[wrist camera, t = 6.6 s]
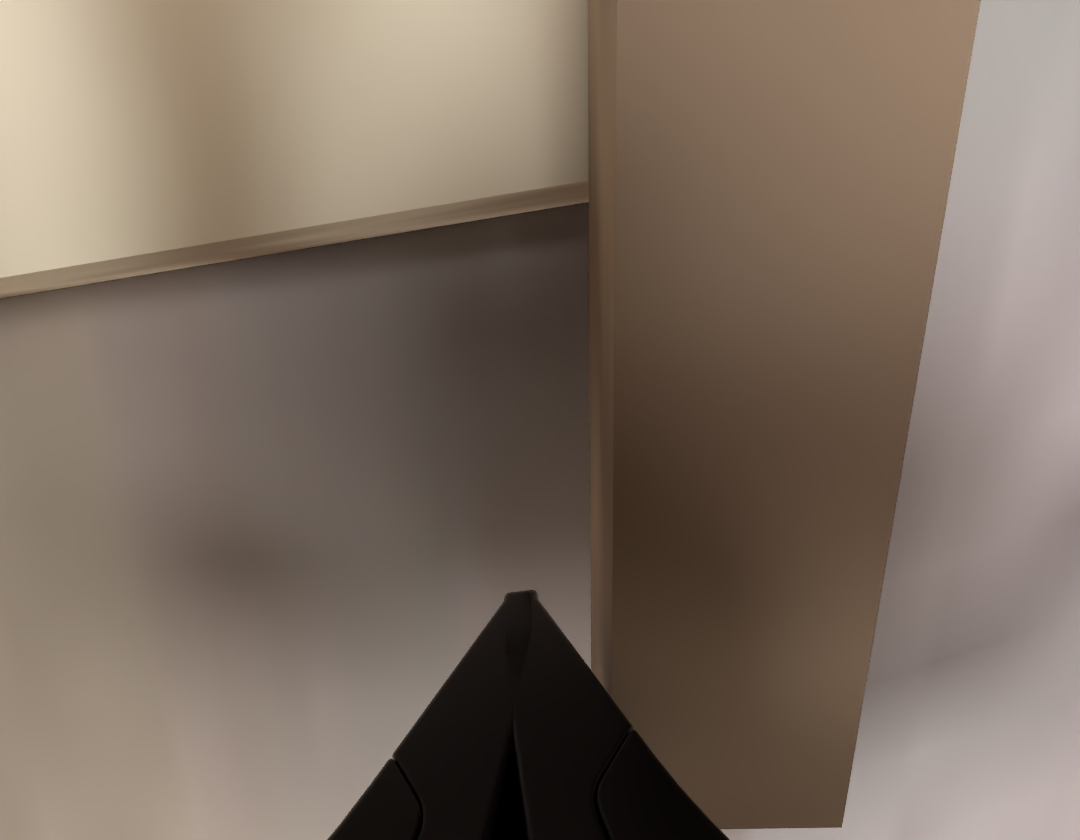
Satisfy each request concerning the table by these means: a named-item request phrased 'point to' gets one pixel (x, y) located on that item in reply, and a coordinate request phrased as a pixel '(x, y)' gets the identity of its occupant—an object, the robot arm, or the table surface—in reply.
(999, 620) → the table surface
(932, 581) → the table surface
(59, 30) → the stool seat
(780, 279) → the hinged leg
